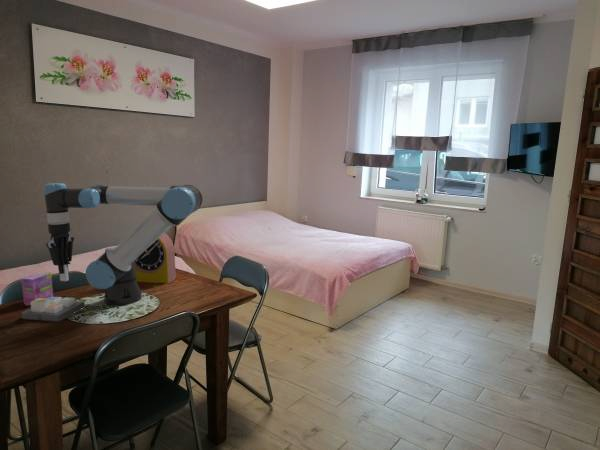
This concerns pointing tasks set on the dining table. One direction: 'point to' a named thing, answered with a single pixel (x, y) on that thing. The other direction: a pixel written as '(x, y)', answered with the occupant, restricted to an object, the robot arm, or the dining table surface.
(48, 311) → the terracotta key
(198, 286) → the dining table surface
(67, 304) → the sage key
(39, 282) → the box
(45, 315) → the keypad board
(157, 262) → the alarm clock
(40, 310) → the mustard key
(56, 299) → the slate key
